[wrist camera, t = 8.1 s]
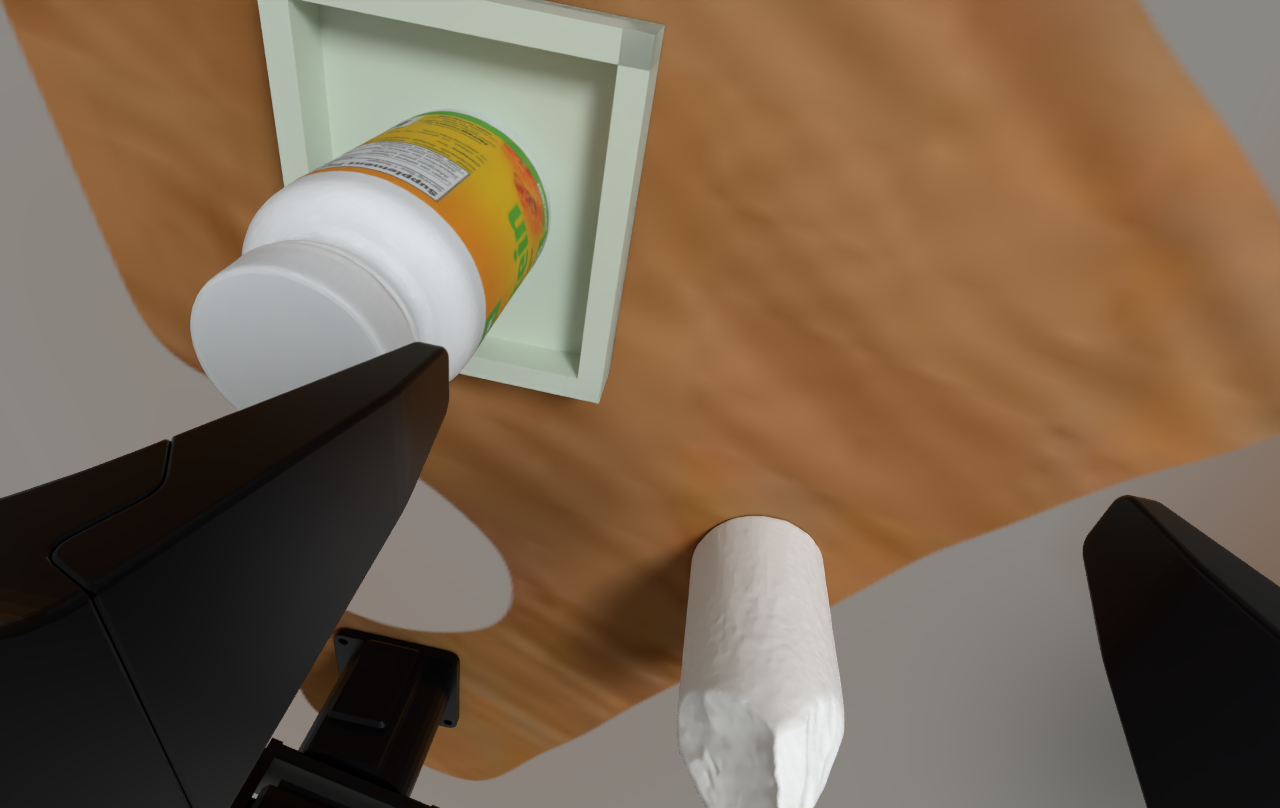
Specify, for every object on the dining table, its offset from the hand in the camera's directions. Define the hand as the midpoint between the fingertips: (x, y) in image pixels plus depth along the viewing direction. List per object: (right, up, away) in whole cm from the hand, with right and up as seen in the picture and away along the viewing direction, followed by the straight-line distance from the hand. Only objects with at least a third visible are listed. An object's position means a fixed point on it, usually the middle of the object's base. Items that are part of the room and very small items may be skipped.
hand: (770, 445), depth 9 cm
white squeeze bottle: (+3, -6, +20) cm, 21 cm away
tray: (-7, +7, +12) cm, 16 cm away
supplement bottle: (-7, +7, +12) cm, 15 cm away
